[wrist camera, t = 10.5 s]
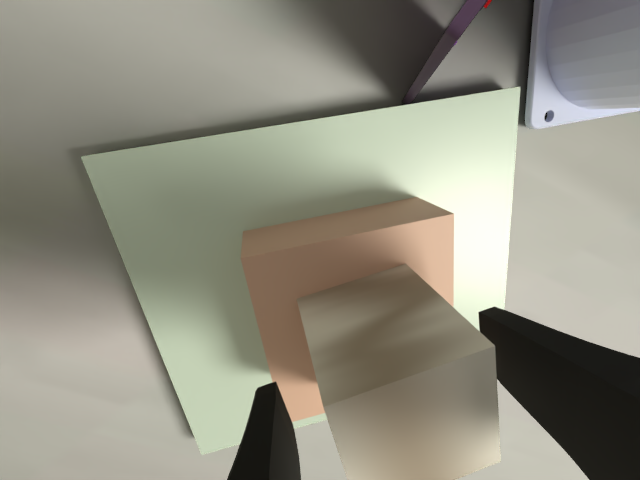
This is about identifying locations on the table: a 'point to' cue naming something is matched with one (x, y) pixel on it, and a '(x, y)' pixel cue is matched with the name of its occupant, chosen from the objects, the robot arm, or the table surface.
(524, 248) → the table surface
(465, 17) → the purple and pink piece
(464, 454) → the top brick
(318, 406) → the base brick
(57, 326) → the table surface
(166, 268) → the base plate
